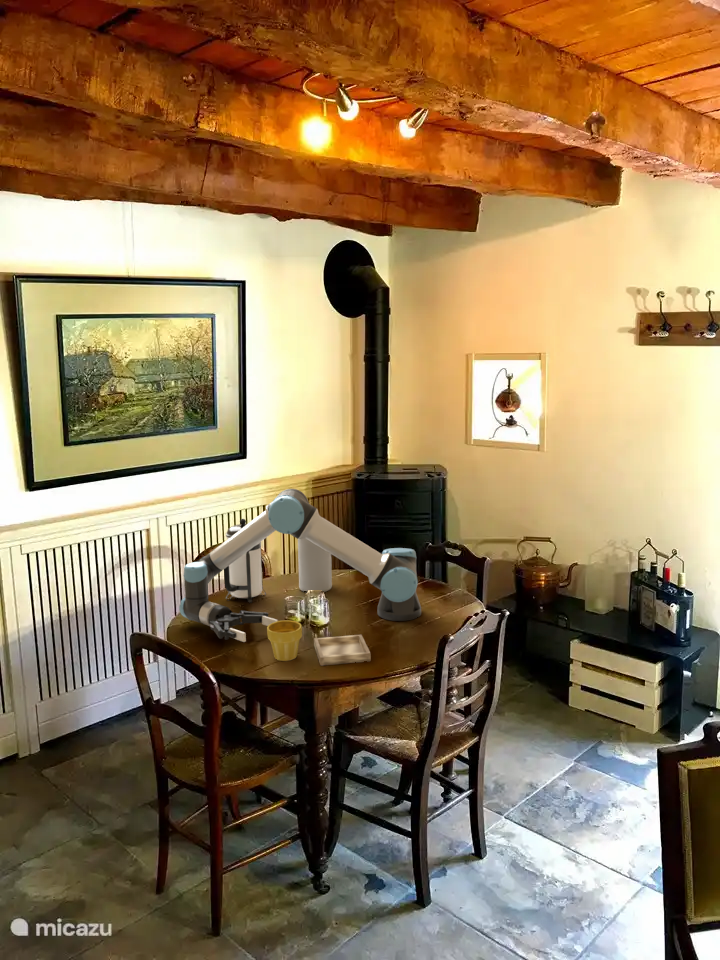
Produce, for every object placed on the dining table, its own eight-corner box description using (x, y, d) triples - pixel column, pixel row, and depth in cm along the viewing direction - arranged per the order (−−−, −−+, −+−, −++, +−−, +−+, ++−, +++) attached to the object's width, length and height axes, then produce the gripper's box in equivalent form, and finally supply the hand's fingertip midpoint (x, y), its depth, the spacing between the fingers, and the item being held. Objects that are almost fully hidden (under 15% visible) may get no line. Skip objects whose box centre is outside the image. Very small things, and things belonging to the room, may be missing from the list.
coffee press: (220, 593, 293) (217, 516, 287) (262, 589, 297) (260, 513, 292) (226, 608, 276) (222, 526, 271) (270, 603, 281) (267, 523, 275)
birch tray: (361, 642, 244) (361, 634, 243) (370, 661, 229) (370, 653, 229) (314, 646, 241) (313, 638, 241) (320, 665, 227) (320, 657, 226)
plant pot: (271, 665, 227) (269, 634, 225) (265, 652, 237) (264, 622, 235) (305, 661, 230) (304, 630, 228) (299, 648, 240) (298, 618, 238)
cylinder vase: (331, 582, 304) (330, 520, 299) (332, 593, 292) (330, 528, 287) (299, 583, 303) (297, 521, 299) (299, 594, 291) (297, 529, 286)
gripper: (245, 616, 262) (290, 630, 249) (186, 638, 243) (230, 655, 230) (244, 595, 261) (289, 608, 247) (184, 615, 242) (229, 631, 228)
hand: (261, 630), depth 238 cm, fingers open, 13 cm apart
